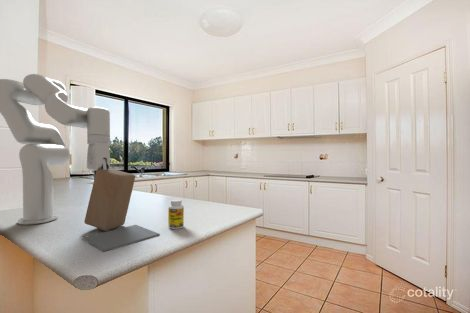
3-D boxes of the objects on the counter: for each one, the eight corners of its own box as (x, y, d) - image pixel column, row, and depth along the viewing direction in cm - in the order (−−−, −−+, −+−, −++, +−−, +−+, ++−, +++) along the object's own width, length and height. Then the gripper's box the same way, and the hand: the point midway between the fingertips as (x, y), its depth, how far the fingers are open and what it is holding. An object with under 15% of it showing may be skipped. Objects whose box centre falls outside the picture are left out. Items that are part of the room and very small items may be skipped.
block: (106, 232, 82) (119, 175, 82) (82, 224, 84) (95, 168, 84) (125, 225, 91) (136, 174, 92) (103, 218, 94) (115, 169, 94)
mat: (82, 238, 77) (82, 237, 77) (135, 225, 91) (135, 224, 91) (103, 251, 67) (103, 250, 67) (159, 235, 81) (159, 233, 81)
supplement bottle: (168, 230, 86) (168, 202, 86) (168, 225, 92) (168, 199, 91) (183, 229, 87) (183, 201, 87) (183, 224, 93) (183, 198, 93)
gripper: (80, 140, 92) (81, 187, 92) (96, 138, 83) (96, 191, 83) (101, 141, 98) (101, 185, 98) (118, 139, 89) (118, 188, 89)
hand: (99, 188), depth 91 cm, fingers closed
